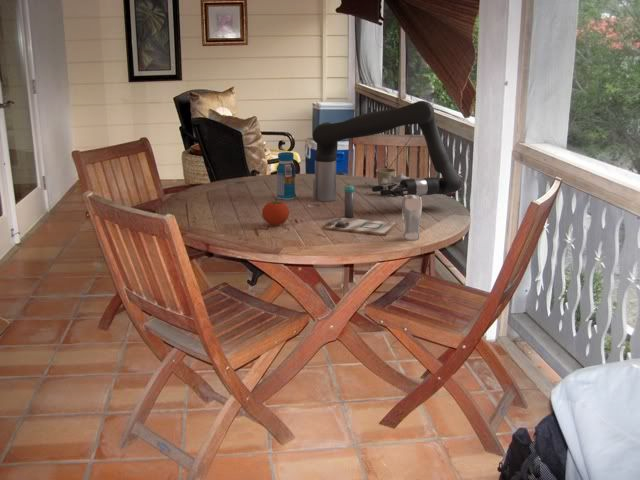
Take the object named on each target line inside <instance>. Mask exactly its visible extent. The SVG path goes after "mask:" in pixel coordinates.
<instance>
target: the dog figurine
mask: <svg viewBox="0 0 640 480" xmlns="http://www.w3.org/2000/svg"><path fill="white" fill-rule="evenodd" d="M403 179H410V177H409V176H406V175H404V172H400V173H399V174H398V175H397V176H396V175H395V174H394V175H393V176H391V180H387V179H382V180H381V184H385V183H396V184H397V185H399V184H400V182H401V180H403ZM383 188H386V187H384V186H383ZM396 198H400V196H396Z"/></svg>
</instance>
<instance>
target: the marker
mask: <svg viewBox="0 0 640 480" xmlns="http://www.w3.org/2000/svg"><path fill="white" fill-rule="evenodd" d="M354 198H355V186H354V185H345V186H344V217H343V218H353V219H355V218H354V217H355V214H354V212H355V211H354V210H355V204H354V203H355V202H354V201H355V199H354Z"/></svg>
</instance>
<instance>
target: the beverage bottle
mask: <svg viewBox="0 0 640 480" xmlns="http://www.w3.org/2000/svg"><path fill="white" fill-rule="evenodd" d="M277 160H278V162H279V163H278V164H277V166H276V171H277V172H276V175H275V176H276V180H277V181H276V183H277V184H276V188H277V189H276V190H277V199H279V200H281V199H282V201H287V200H288V201H290V200H294V199H295V198H296V196H297V195H296V177H297V176H296V171H295V170H296V166H295V164H294V162H293V161H294V152H288V151H282V152H279V153H278V154H277Z"/></svg>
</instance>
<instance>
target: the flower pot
mask: <svg viewBox="0 0 640 480" xmlns="http://www.w3.org/2000/svg"><path fill="white" fill-rule="evenodd" d="M396 171H397V170H396V169H395V168H377V169H375V172H376V174H377V183H378V186H379V185H380V184H381V180H382V179H387V180H391V176H393V175H394V176H395V173H396Z"/></svg>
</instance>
